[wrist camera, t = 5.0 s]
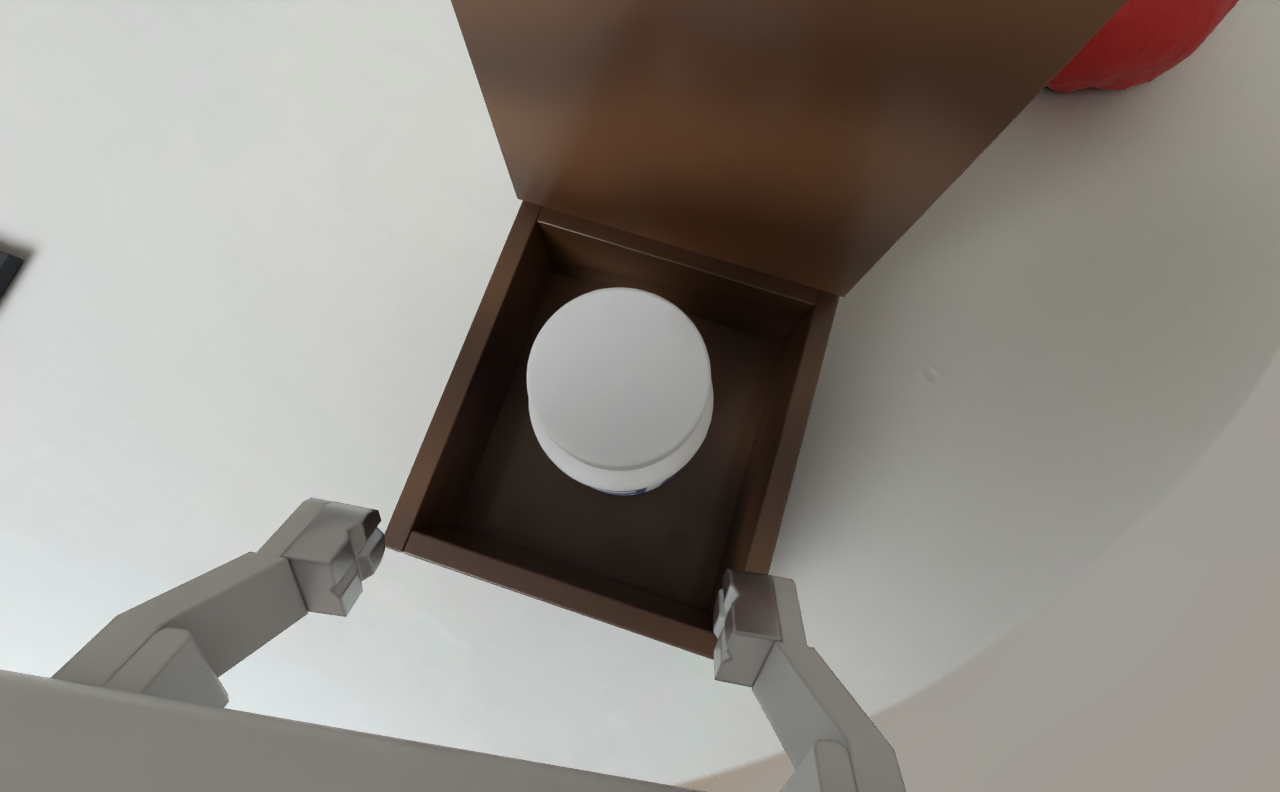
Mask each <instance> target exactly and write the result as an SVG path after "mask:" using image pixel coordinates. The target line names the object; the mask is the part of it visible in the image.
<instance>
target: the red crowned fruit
mask: <svg viewBox="0 0 1280 792" xmlns="http://www.w3.org/2000/svg"><path fill="white" fill-rule="evenodd" d="M1238 1H1239V0H1128V1H1127V2H1126V3H1125V4H1124V5H1123V6H1122V7H1121V8H1120V9H1119V10H1118V11H1117V12H1116V14H1115V15H1114V16H1113V17H1112V18H1111V19H1110V20H1109V21H1108V22H1107V23H1106V24H1105V25H1104V26H1103V27H1102V28H1101V29H1100V30H1099V31H1098V32H1097V33H1096V34H1095V35H1094V36H1093V37H1092V39H1091V40H1090V41H1089V42H1088V43H1087V44H1086V45H1085V46H1084V47H1083V48H1082V49H1081V50H1080V51H1079V52H1078V53H1077V54H1076V55H1075V56H1074V57H1073V58H1072V59H1071V60H1070V61H1069V62H1068V64H1067V65H1066V66H1065V67H1064V68H1063V69H1062V70H1061V71H1060V72H1059V73H1058V74H1057V75H1056V76H1055V77H1054V78H1053V79H1052V80H1051V81H1050V82H1049V83H1048V84H1047V85H1046V86H1047V87H1049V88H1050V89H1052V90H1054V91H1058V92H1062V93H1066V92H1072V91H1074V90H1078V89H1083V88H1089V87H1097V88H1099V89H1105V90H1124V89H1127V88H1130V87H1133V86H1137V85H1140V84H1143V83H1145V82H1149V81H1152V80H1153V79H1154V78H1156V77H1157V76H1159V75H1161V74H1162V73H1164V72H1165V71H1167V70H1169V69H1171V68H1172V67H1174V66H1175V65H1177V64H1178V63H1180V62H1181V61H1182V60H1184V59H1185V58H1187V57H1188V56H1189V55H1191V54H1192V53H1193V52H1194V51H1195V50H1196V49H1197V48H1198V47H1199V46H1200V45H1201V43H1202V42H1203V41H1204V40H1205V39H1206V38H1207V36H1208V35H1209V34H1210V33H1211V32H1212V31H1213V30H1214V29H1215V27H1216V26H1217V25H1218V24H1219V23H1220V22H1221V21H1222V19H1223V18H1224V17H1225V16H1226V14H1227V13H1228V12H1229V11H1230V10H1231V9H1232V8H1233V7H1234V6H1235V4H1236V3H1237V2H1238Z"/></svg>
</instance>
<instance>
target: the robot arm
mask: <svg viewBox="0 0 1280 792" xmlns="http://www.w3.org/2000/svg"><path fill="white" fill-rule="evenodd" d="M380 521H381V518H380V515H379V511H378V510H374V509H369V508H364V507H359V506H354V505H349V504H344V503H338V502H333V501H328V500H322V499H317V498H309V499H308V500H306V501H304V502H303V503H302V504H301V505H300V506H299V507H298V508H297V509H296V510H295V511H294V512H293V513H292V515H291V516H290V517H289V518H288V519H287V520H286V521H285V522H284V523H283V524H282V525H281V527H280V528H279V529H278V530H277V531H276V532H275V533H274V534H273V535H272V536H271V537H270V539H269V540H268V541H267V542H266V543H265V544H264V545H263V546H262V547H261V548H260V549H259V551H258V552H257V553H255V552H248V553H246V554H244V555H242V556H240V557H238V558H236V559H234V560H232V561H230V562H228V563H226V564H223V565H221V566H219V567H217V568H215V569H213V570H211V571H209V572H207V573H205V574H203V575H201V576H198V577H196V578H194V579H192V580H190V581H188V582H186V583H184V584H182V585H180V586H178V587H176V588H174V589H171V590H169V591H167V592H165V593H163V594H161V595H159V596H157V597H155V598H153V599H151V600H149V601H147V602H144V603H142V604H140V605H138V606H136V607H134V608H132V609H130V610H128V611H126V612H124V613H122V614H119V615H117V616H116V617H115V618H114V619H113V620H112V621H111V622H110V623H109V624H108V625H107V626H105V627H104V628H103V629H102V630H101V631H100V632H99V633H98V634H97V635H96V636H95V637H94V638H93V639H92V640H91V641H90V642H88V643H87V644H86V645H85V646H84V647H83V648H82V649H81V650H80V651H79V652H78V653H77V654H76V655H75V656H74V657H72V658H71V659H70V660H69V661H68V662H67V663H66V664H65V665H64V666H63V667H62V668H61V669H60V670H59V671H58V672H56V673H55V674H54V675H53V676H52V677H51V678H46V677H40V676H35V675H29V674H23V673H17V672H11V671H6V670H0V792H705V791H699V790H694V789H688V788H682V787H677V786H671V785H665V784H659V783H654V782H648V781H642V780H636V779H630V778H625V777H619V776H613V775H607V774H602V773H596V772H590V771H584V770H578V769H573V768H567V767H561V766H555V765H550V764H544V763H538V762H532V761H527V760H521V759H515V758H509V757H503V756H498V755H492V754H486V753H480V752H475V751H469V750H463V749H457V748H452V747H446V746H440V745H434V744H428V743H423V742H417V741H411V740H405V739H400V738H394V737H388V736H382V735H376V734H371V733H365V732H359V731H353V730H347V729H342V728H336V727H330V726H324V725H319V724H313V723H307V722H301V721H295V720H290V719H284V718H278V717H272V716H266V715H261V714H255V713H249V712H243V711H237V710H232V709H226V708H224V707H225V706H226V704H227V703H228V701H229V700H228V694H227V692H226V690H225V689H224V687H223V686H222V684H221V682H220V681H219V679H218V677H219V676H221V675H222V674H224V673H225V672H226V671H228V670H229V669H231V668H232V667H233V666H235V665H236V664H238V663H239V662H240V661H242V660H243V659H245V658H246V657H247V656H249V655H250V654H252V653H253V652H254V651H256V650H257V649H259V648H260V647H262V646H263V645H264V644H266V643H267V642H269V641H270V640H271V639H273V638H274V637H276V636H277V635H278V634H280V633H281V632H283V631H284V630H285V629H287V628H288V627H290V626H291V625H292V624H294V623H295V622H297V621H298V620H299V619H301V618H302V617H304V616H305V615H307V614H308V612H307V611H309V612H316V613H323V614H330V615H337V616H344V617H346V616H347V614H348V613H349V611H350V610H351V608H352V607H353V605H354V603H355V602H356V600H357V599H358V597H359V596H360V594H361V593H362V591H363V590H362V583H361V581H363V580H364V579H366V578H368V577H369V576H371V575H373V574H374V572H375V571H376V569H377V567H378V566H379V564H380V562H381V559H382V556H383V554H384V551H385V537H384V534H383V533H382V532H381V531H380V530H379V529H378V528H377V526H378V524H379V523H380ZM713 632H714V634H715V635H716V637H717V638H718V641H717V643H716V646H715V649H714V672H715V680H718V681H723V682H728V683H733V684H738V685H743V686H748V687H753V688H752V690H753V692H754V694H755V696H756V698H757V700H758V701H759V703H760V705H761V707H762V709H763V711H764V712H765V714H766V716H767V718H768V720H769V722H770V723H771V725H772V727H773V729H774V731H775V733H776V734H777V736H778V738H779V740H780V742H781V743H782V745H783V747H784V749H785V751H786V753H787V754H788V756H789V758H790V760H791V762H792V764H793V765H794V767H795V769H796V770H795V771H794V773H793V774H792V776H791V777H790V778H789V780H788V781H787V783H786V784H785V786H784V787H783V788H782V790H781V791H780V792H906V789H905V786H904V782H903V779H902V775H901V772H900V768H899V765H898V761H897V758H896V754H895V751H894V749H893V748H892V747H891V745H890V744H889V743H888V741H887V740H886V739H885V738H884V736H883V735H882V734H881V732H880V731H879V730H878V729H877V727H876V726H875V725H874V724H873V722H872V721H871V720H870V718H869V717H868V716H867V715H866V713H865V712H864V711H863V710H862V708H861V707H860V706H859V704H858V703H857V702H856V701H855V699H854V698H853V697H852V696H851V694H850V693H849V692H848V690H847V689H846V688H845V687H844V685H843V684H842V683H841V682H840V680H839V679H838V678H837V676H836V675H835V674H834V673H833V671H832V670H831V669H830V668H829V666H828V665H827V664H826V662H825V661H824V660H823V659H822V657H821V656H820V655H819V654H818V652H817V651H816V650H815V648H813V647H808V646H807V642H806V636H805V631H804V626H803V621H802V616H801V610H800V605H799V600H798V595H797V590H796V585H795V582H794V581H793V579H788V578H782V577H776V576H770V575H767V574H760V573H754V572H748V571H741V570H735V569H727V570H726V571H725V574H724V576H723V588H722V589H720V590H719V591H718V594H717V597H716V601H715V607H714V615H713Z"/></svg>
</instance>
